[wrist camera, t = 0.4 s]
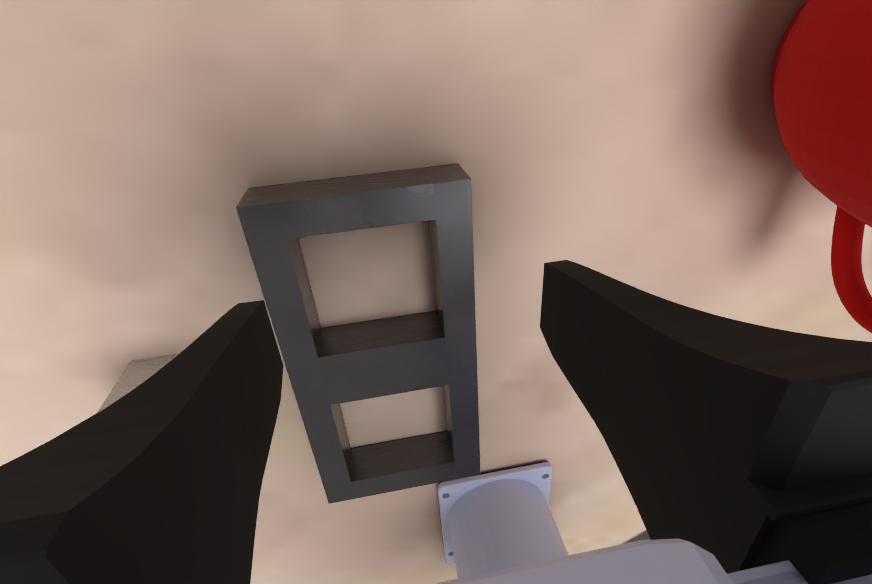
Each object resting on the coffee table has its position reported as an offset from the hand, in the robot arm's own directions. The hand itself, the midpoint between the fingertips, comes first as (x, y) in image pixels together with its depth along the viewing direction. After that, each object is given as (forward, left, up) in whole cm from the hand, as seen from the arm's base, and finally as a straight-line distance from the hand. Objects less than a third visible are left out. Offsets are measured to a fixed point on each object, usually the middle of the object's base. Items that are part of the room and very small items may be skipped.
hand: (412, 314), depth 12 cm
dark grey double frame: (-8, +1, -10) cm, 13 cm away
